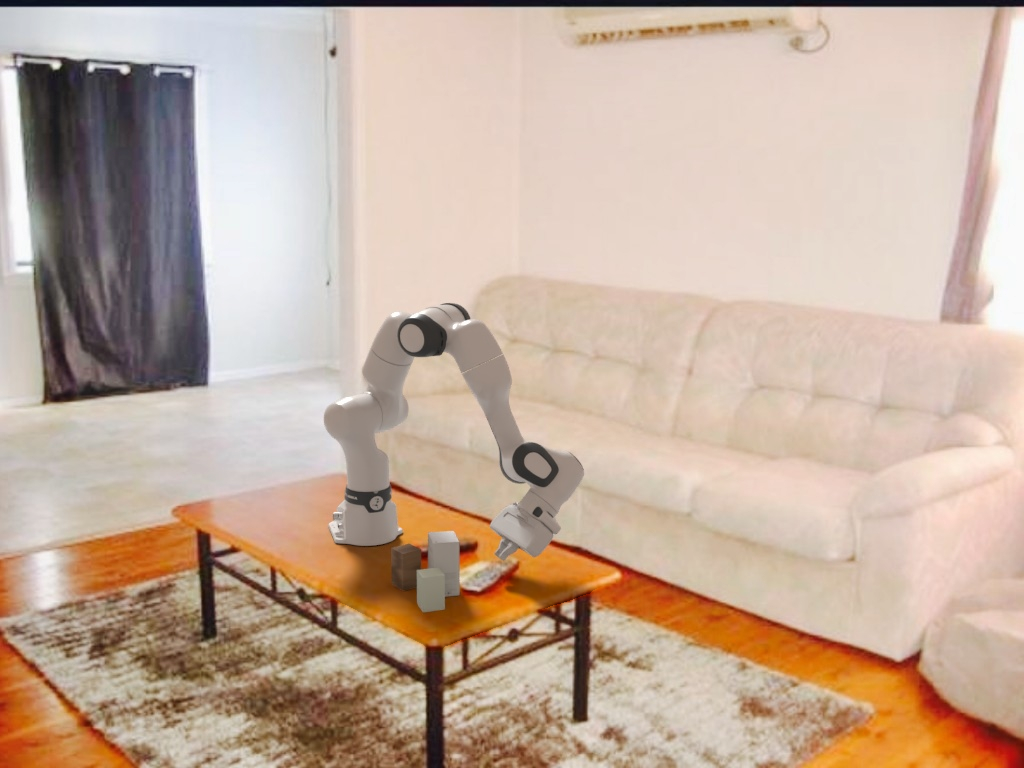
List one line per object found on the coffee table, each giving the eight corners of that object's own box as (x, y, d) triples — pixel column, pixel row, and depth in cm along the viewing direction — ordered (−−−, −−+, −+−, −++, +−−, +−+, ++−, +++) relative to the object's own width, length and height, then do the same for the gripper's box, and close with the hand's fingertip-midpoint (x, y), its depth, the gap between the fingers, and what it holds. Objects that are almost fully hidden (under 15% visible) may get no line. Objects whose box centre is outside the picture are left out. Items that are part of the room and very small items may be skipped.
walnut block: (391, 584, 242) (391, 547, 241) (409, 579, 246) (409, 543, 244) (403, 591, 239) (402, 553, 237) (421, 586, 242) (421, 549, 240)
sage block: (417, 603, 231) (416, 570, 230) (438, 600, 233) (438, 567, 232) (423, 612, 227) (422, 577, 225) (444, 609, 229) (444, 575, 227)
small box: (460, 596, 236) (460, 541, 233) (432, 598, 235) (432, 543, 232) (454, 582, 244) (454, 530, 241) (427, 584, 242) (427, 531, 240)
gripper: (506, 492, 254) (471, 537, 252) (548, 515, 237) (510, 563, 234) (522, 507, 257) (487, 551, 255) (564, 531, 240) (527, 578, 237)
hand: (498, 557), depth 244 cm, fingers closed
